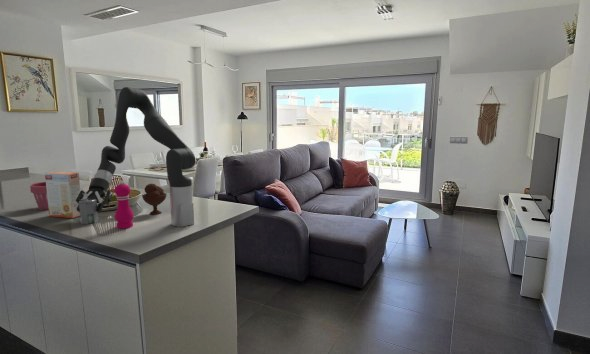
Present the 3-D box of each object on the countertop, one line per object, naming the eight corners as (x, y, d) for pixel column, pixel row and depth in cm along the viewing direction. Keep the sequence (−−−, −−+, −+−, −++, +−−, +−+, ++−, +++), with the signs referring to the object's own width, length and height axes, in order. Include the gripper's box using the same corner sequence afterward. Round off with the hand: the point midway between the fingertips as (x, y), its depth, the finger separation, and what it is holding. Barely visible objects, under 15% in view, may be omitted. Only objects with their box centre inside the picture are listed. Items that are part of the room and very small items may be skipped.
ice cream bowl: (159, 217, 161) (157, 185, 159) (138, 215, 163) (136, 184, 161) (171, 211, 171) (170, 182, 169) (151, 210, 174) (150, 181, 171)
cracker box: (83, 215, 163) (79, 172, 159) (72, 218, 157) (67, 174, 154) (60, 213, 166) (56, 170, 163) (48, 216, 161) (44, 172, 157)
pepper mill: (129, 223, 151) (126, 178, 148) (137, 226, 147) (134, 180, 144) (112, 226, 146) (108, 180, 143) (120, 230, 141) (116, 182, 138)
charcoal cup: (100, 220, 155) (99, 198, 154) (92, 224, 149) (90, 202, 147) (87, 219, 155) (85, 198, 154) (77, 224, 149) (75, 201, 147)
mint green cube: (96, 222, 152) (95, 213, 152) (86, 224, 149) (85, 215, 149) (92, 220, 155) (92, 211, 154) (83, 222, 152) (82, 213, 151)
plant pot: (62, 209, 173) (59, 185, 171) (28, 212, 167) (25, 186, 165) (69, 203, 186) (66, 180, 184) (38, 205, 181) (35, 181, 179)
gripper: (82, 176, 158) (67, 206, 148) (112, 177, 157) (99, 207, 148) (90, 185, 164) (76, 215, 154) (119, 186, 163) (107, 216, 154)
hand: (88, 211), depth 151 cm, fingers open, 8 cm apart
